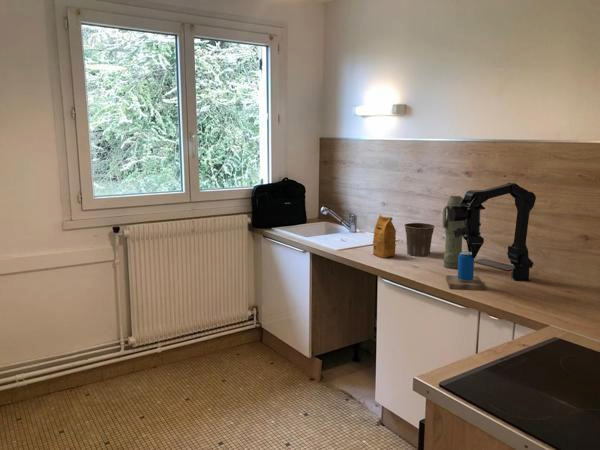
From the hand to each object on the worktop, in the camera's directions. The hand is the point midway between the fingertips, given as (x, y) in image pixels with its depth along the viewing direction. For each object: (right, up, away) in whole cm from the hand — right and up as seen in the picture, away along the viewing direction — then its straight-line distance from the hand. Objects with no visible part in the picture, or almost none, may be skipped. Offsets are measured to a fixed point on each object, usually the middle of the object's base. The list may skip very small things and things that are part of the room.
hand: (471, 255), depth 217 cm
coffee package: (-29, -4, +56) cm, 63 cm away
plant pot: (-9, -3, +59) cm, 59 cm away
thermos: (+1, -8, +31) cm, 32 cm away
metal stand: (-3, -13, +1) cm, 13 cm away
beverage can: (-3, -11, 0) cm, 11 cm away
